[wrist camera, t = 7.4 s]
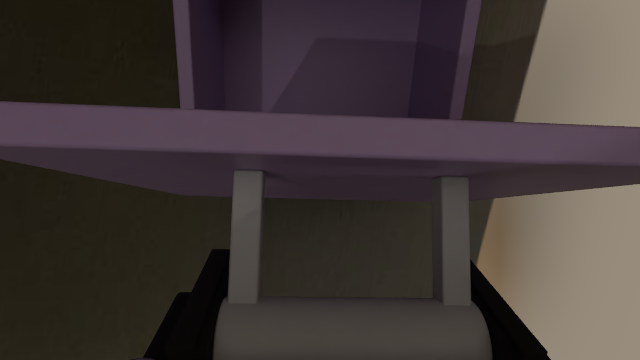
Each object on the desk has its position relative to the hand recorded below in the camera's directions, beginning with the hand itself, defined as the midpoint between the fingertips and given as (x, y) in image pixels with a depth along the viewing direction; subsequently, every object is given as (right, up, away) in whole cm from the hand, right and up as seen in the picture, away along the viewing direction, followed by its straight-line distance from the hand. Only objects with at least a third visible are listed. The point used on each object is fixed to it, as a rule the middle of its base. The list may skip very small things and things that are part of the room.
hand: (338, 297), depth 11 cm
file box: (-1, +12, +17) cm, 21 cm away
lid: (0, +4, +3) cm, 5 cm away
